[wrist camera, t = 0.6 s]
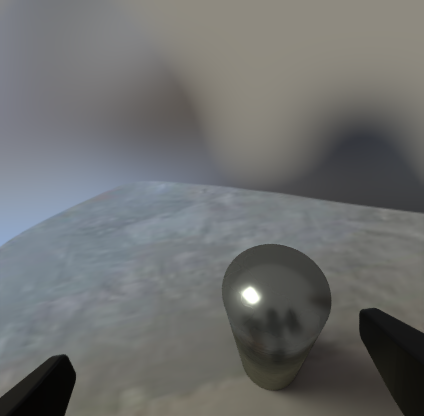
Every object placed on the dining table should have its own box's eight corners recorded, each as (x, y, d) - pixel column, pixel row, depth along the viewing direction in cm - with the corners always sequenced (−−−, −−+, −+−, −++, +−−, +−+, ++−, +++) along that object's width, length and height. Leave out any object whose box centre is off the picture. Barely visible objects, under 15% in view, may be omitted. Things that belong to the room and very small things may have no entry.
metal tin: (309, 378, 18) (356, 323, 9) (253, 399, 18) (243, 365, 9) (282, 319, 21) (296, 232, 12) (233, 336, 21) (210, 261, 12)
